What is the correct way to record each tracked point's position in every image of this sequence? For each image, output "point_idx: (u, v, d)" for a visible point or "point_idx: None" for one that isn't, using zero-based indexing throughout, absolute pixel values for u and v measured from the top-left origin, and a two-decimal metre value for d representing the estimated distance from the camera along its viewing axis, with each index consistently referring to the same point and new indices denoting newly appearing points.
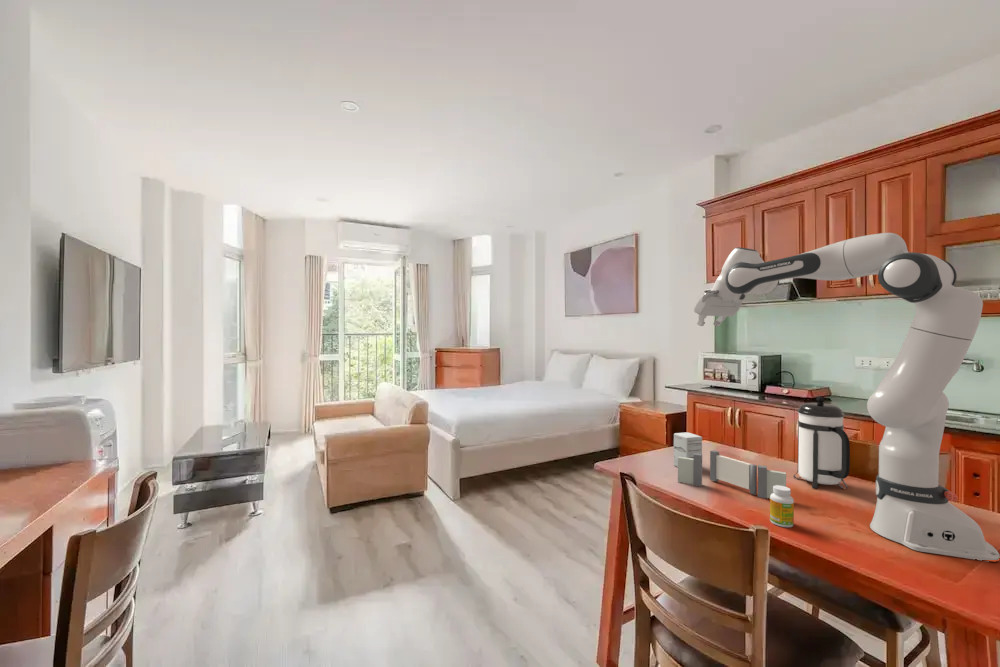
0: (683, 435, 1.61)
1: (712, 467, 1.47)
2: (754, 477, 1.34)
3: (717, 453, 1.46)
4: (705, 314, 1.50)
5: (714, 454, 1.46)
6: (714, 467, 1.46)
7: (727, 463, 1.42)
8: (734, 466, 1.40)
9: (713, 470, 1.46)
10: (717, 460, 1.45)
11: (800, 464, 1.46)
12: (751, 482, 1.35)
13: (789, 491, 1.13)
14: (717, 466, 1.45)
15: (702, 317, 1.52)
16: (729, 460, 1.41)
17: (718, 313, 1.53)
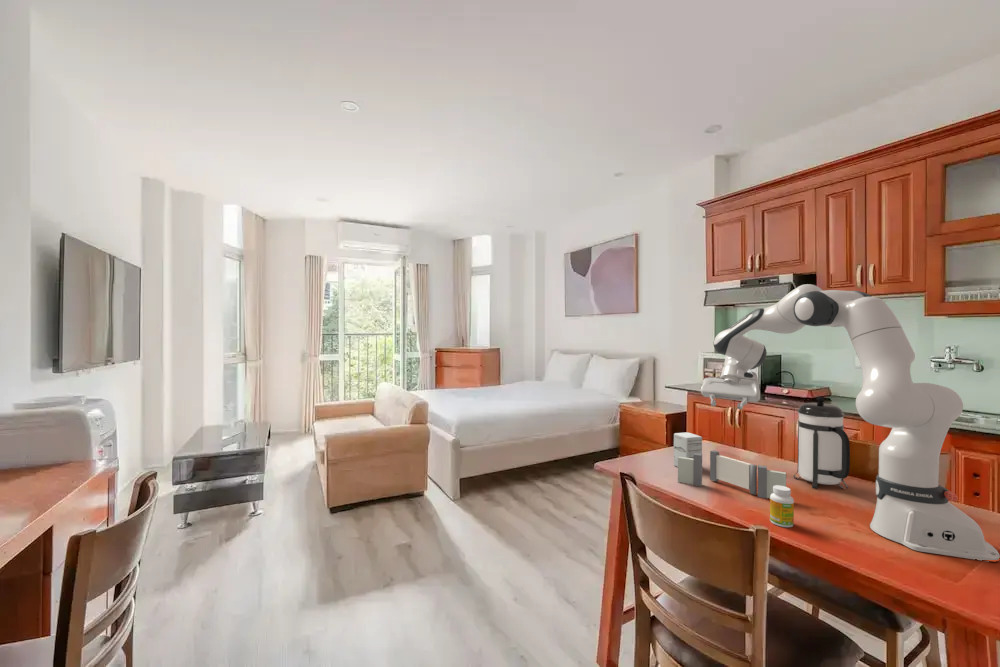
0: (683, 435, 1.61)
1: (712, 467, 1.47)
2: (754, 477, 1.34)
3: (717, 453, 1.46)
4: (707, 390, 1.67)
5: (714, 454, 1.46)
6: (714, 467, 1.46)
7: (727, 463, 1.42)
8: (734, 466, 1.40)
9: (713, 470, 1.46)
10: (717, 460, 1.45)
11: (800, 464, 1.46)
12: (751, 482, 1.35)
13: (789, 491, 1.13)
14: (717, 466, 1.45)
15: (709, 396, 1.66)
16: (729, 460, 1.41)
17: (726, 391, 1.63)
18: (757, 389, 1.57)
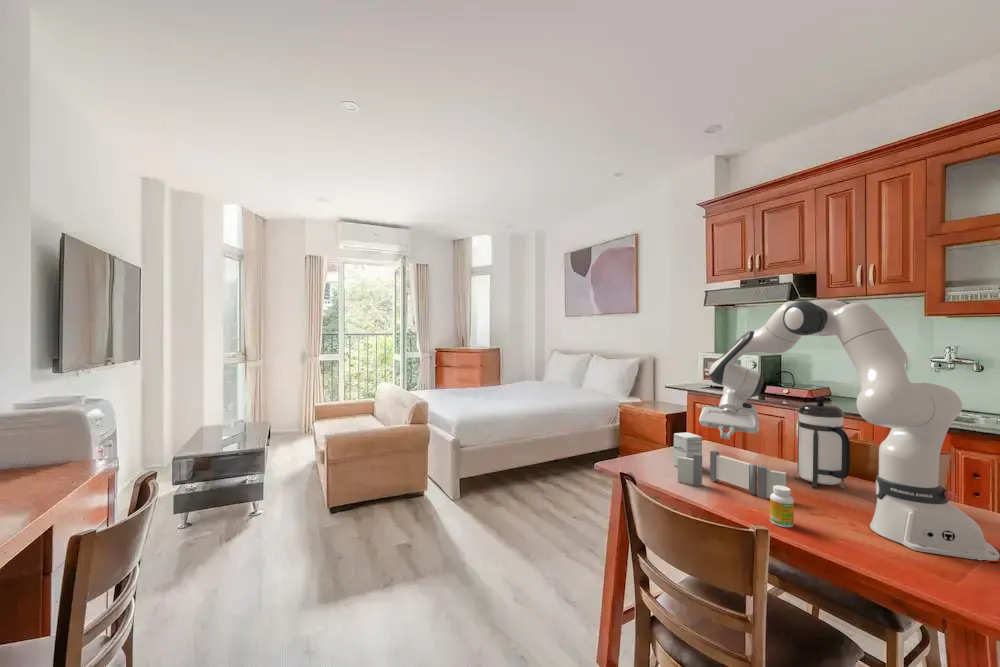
0: (683, 435, 1.61)
1: (712, 467, 1.47)
2: (754, 477, 1.34)
3: (717, 453, 1.46)
4: (705, 420, 1.65)
5: (714, 454, 1.46)
6: (714, 467, 1.46)
7: (727, 463, 1.42)
8: (734, 466, 1.40)
9: (713, 470, 1.46)
10: (717, 460, 1.45)
11: (800, 464, 1.46)
12: (751, 482, 1.35)
13: (789, 491, 1.13)
14: (717, 466, 1.45)
15: (719, 428, 1.61)
16: (729, 460, 1.41)
17: (725, 421, 1.61)
18: (756, 420, 1.55)
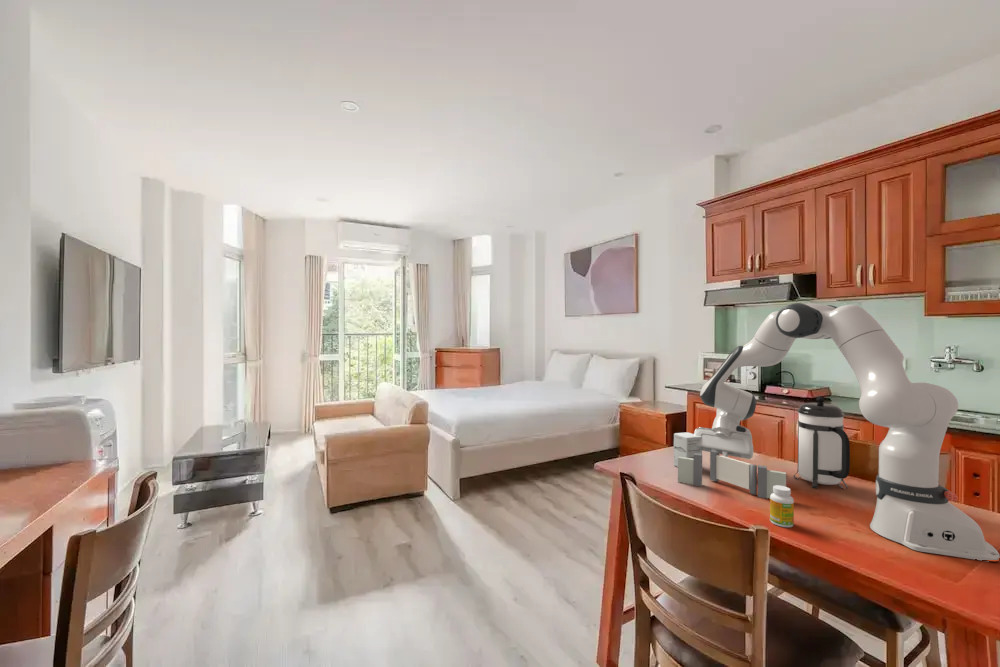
0: (683, 435, 1.61)
1: (712, 467, 1.47)
2: (754, 477, 1.34)
3: (717, 453, 1.46)
4: (697, 443, 1.58)
5: (714, 454, 1.46)
6: (714, 467, 1.46)
7: (727, 463, 1.42)
8: (734, 466, 1.40)
9: (713, 470, 1.46)
10: (717, 460, 1.45)
11: (800, 464, 1.46)
12: (751, 482, 1.35)
13: (789, 491, 1.13)
14: (717, 466, 1.45)
15: None
16: (729, 460, 1.41)
17: (718, 445, 1.54)
18: (750, 445, 1.48)
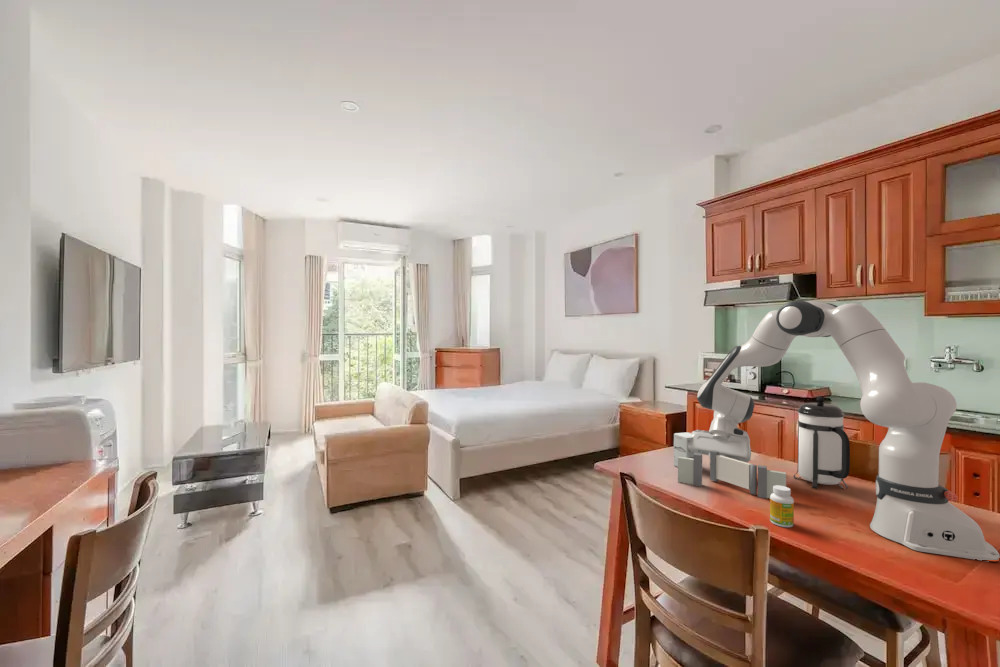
0: (683, 435, 1.61)
1: (712, 467, 1.47)
2: (754, 477, 1.34)
3: (717, 453, 1.46)
4: (694, 446, 1.56)
5: (714, 454, 1.46)
6: (714, 467, 1.46)
7: (727, 463, 1.42)
8: (734, 466, 1.40)
9: (713, 470, 1.46)
10: (717, 460, 1.45)
11: (800, 464, 1.46)
12: (751, 482, 1.35)
13: (789, 491, 1.13)
14: (717, 466, 1.45)
15: None
16: (729, 460, 1.41)
17: (715, 448, 1.51)
18: (747, 449, 1.45)
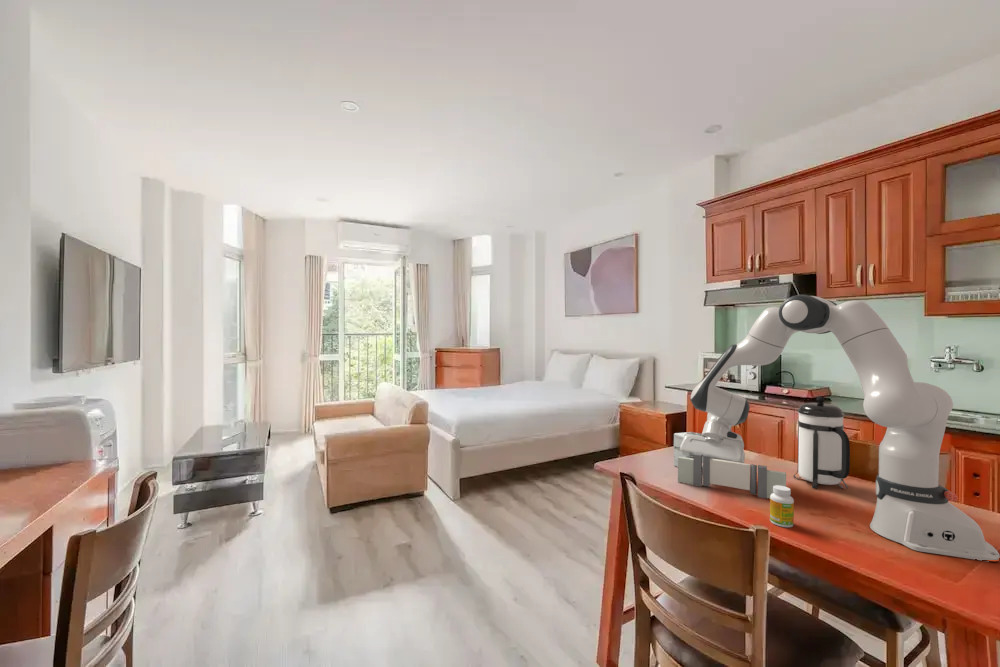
0: (683, 435, 1.61)
1: (706, 472, 1.41)
2: (756, 477, 1.34)
3: None
4: (686, 449, 1.51)
5: (708, 458, 1.41)
6: (708, 472, 1.41)
7: (723, 466, 1.39)
8: (732, 468, 1.37)
9: (707, 475, 1.41)
10: (711, 464, 1.41)
11: (800, 464, 1.46)
12: (753, 482, 1.34)
13: (789, 491, 1.13)
14: (711, 470, 1.41)
15: None
16: (726, 463, 1.38)
17: (707, 452, 1.46)
18: (741, 453, 1.40)
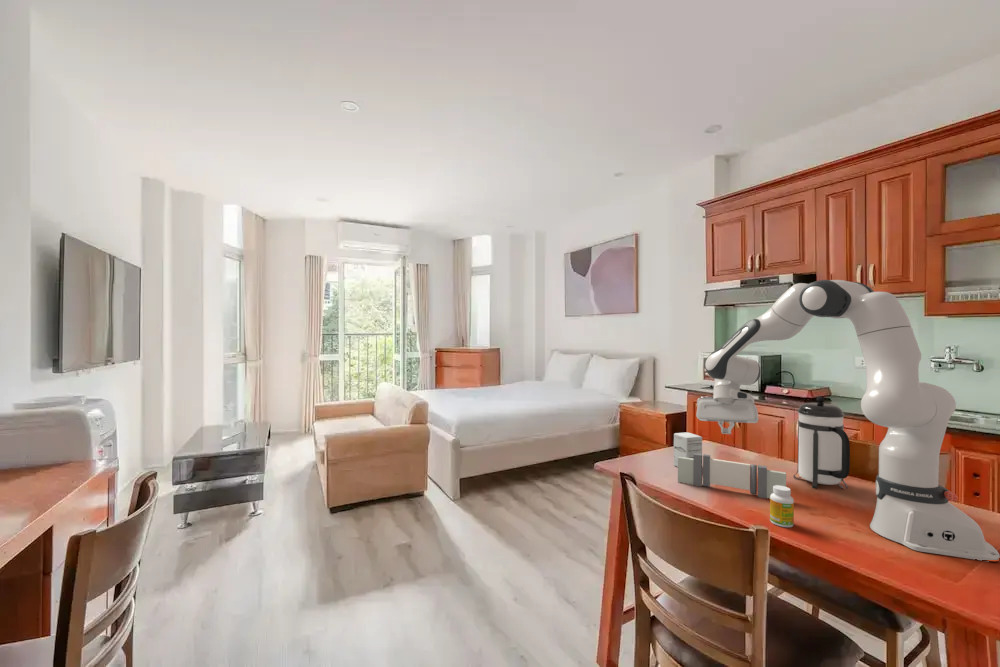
0: (683, 435, 1.61)
1: (706, 472, 1.41)
2: (756, 477, 1.34)
3: None
4: (703, 417, 1.59)
5: (708, 458, 1.41)
6: (708, 472, 1.41)
7: (723, 466, 1.39)
8: (732, 468, 1.37)
9: (707, 475, 1.41)
10: (711, 464, 1.41)
11: (800, 464, 1.46)
12: (753, 482, 1.34)
13: (789, 491, 1.13)
14: (711, 470, 1.41)
15: None
16: (726, 463, 1.38)
17: (723, 416, 1.55)
18: (754, 411, 1.49)
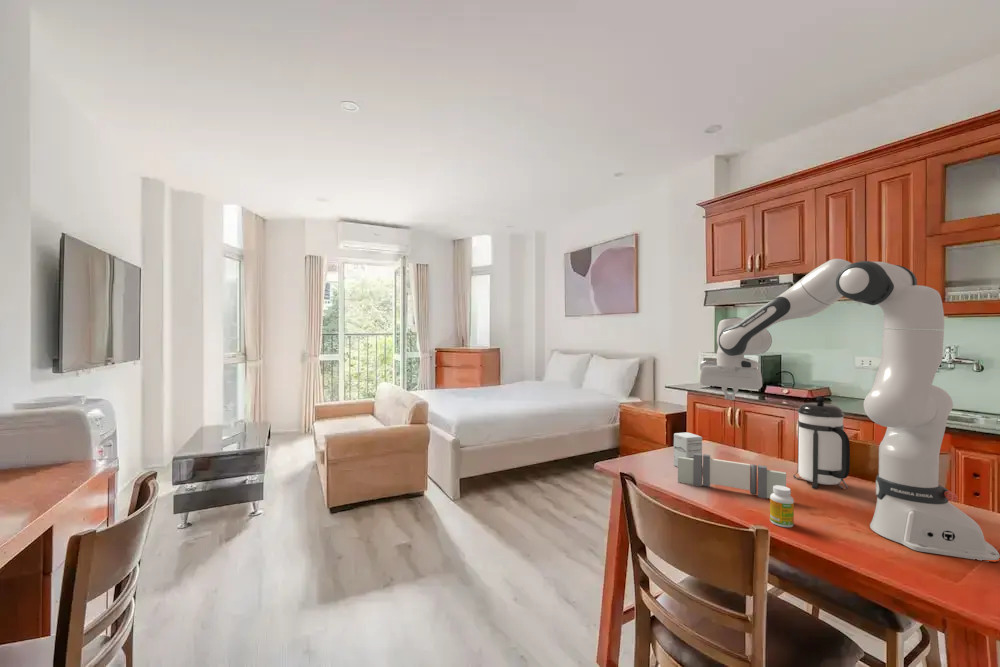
0: (683, 435, 1.61)
1: (706, 472, 1.41)
2: (756, 477, 1.34)
3: None
4: (706, 383, 1.60)
5: (708, 458, 1.41)
6: (708, 472, 1.41)
7: (723, 466, 1.39)
8: (732, 468, 1.37)
9: (707, 475, 1.41)
10: (711, 464, 1.41)
11: (800, 464, 1.46)
12: (753, 482, 1.34)
13: (789, 491, 1.13)
14: (711, 470, 1.41)
15: None
16: (726, 463, 1.38)
17: (727, 383, 1.55)
18: (758, 380, 1.48)
